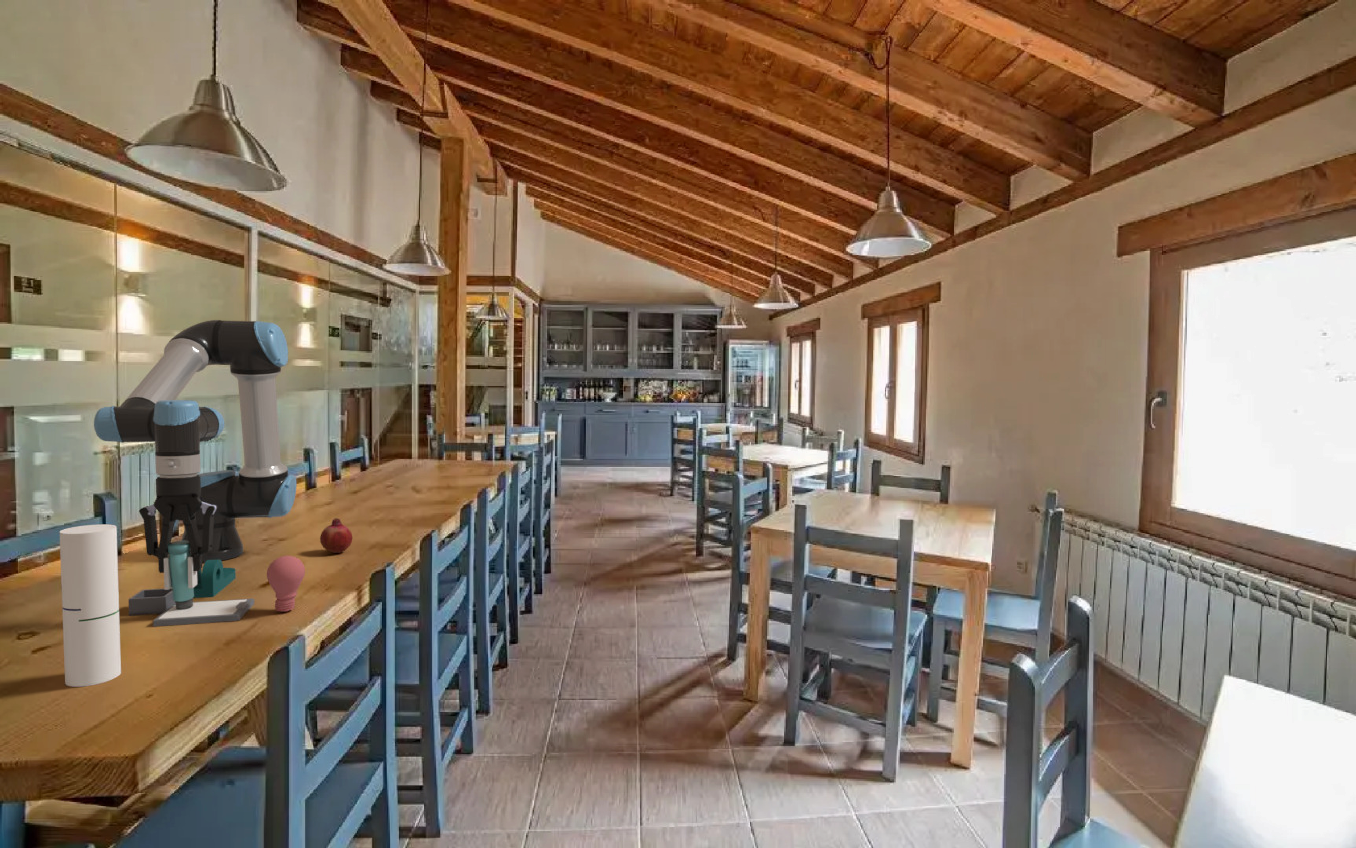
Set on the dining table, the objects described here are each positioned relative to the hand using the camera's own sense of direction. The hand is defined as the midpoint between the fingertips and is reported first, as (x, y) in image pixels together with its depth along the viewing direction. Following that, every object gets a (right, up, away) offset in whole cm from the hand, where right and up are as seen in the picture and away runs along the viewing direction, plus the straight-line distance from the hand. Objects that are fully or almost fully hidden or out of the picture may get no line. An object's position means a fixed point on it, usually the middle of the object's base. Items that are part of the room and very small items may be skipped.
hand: (181, 586), depth 146 cm
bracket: (-8, -5, +21) cm, 23 cm away
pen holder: (-9, -6, +4) cm, 11 cm away
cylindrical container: (+6, -9, -29) cm, 31 cm away
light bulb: (+19, -7, +5) cm, 21 cm away
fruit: (+6, -3, +53) cm, 54 cm away
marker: (-1, -5, +2) cm, 5 cm away
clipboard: (+4, -6, +2) cm, 8 cm away
